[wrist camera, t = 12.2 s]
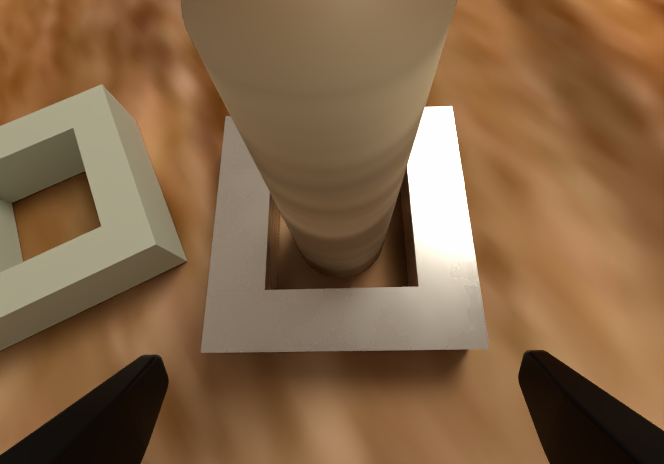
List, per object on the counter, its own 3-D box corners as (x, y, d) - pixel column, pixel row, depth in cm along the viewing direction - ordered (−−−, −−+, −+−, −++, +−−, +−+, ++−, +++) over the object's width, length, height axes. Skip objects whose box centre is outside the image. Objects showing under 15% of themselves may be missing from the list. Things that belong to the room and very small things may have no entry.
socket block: (468, 349, 16) (489, 349, 13) (222, 352, 16) (200, 352, 14) (439, 135, 19) (452, 106, 17) (240, 143, 20) (225, 116, 18)
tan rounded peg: (386, 276, 17) (478, 86, 5) (296, 278, 17) (162, 101, 5) (381, 194, 18) (441, -114, 6) (298, 197, 19) (198, -95, 6)
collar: (187, 260, 18) (155, 244, 15) (-4, 352, 17) (-76, 352, 14) (135, 120, 21) (101, 84, 18) (-28, 190, 20) (-91, 163, 17)
